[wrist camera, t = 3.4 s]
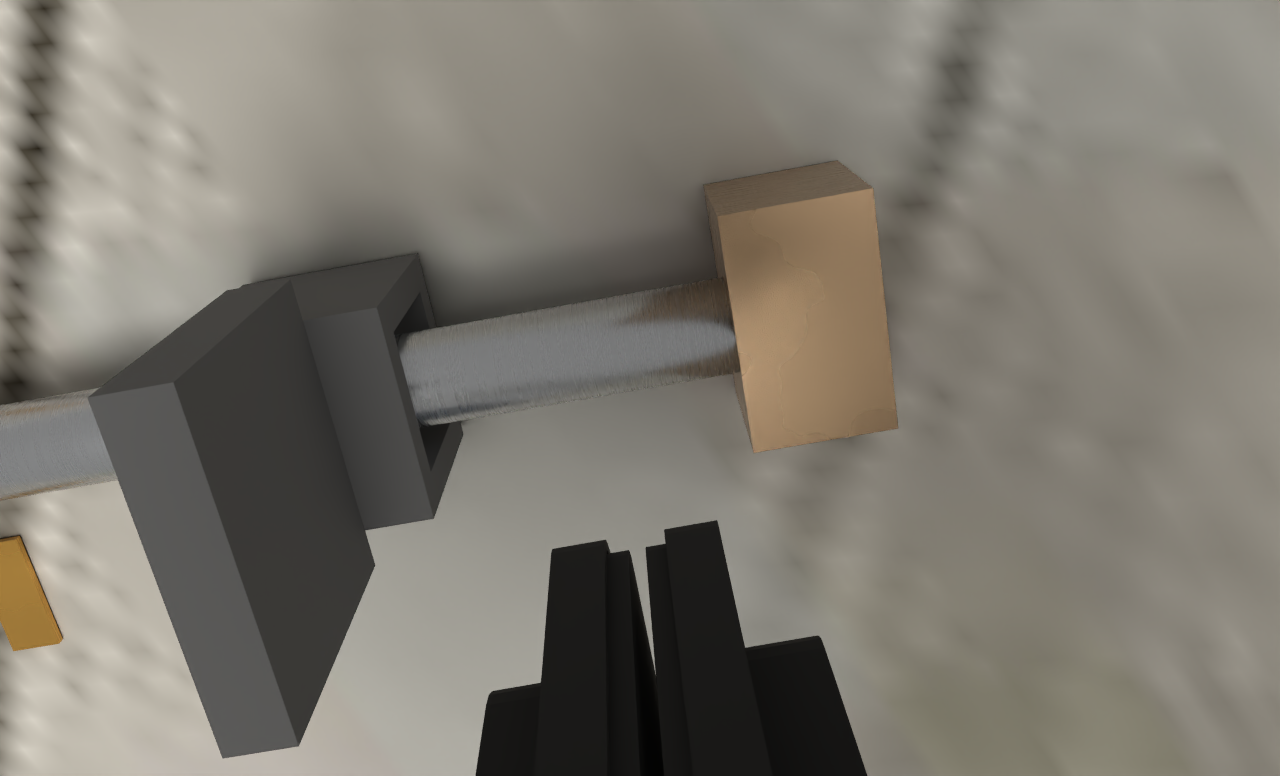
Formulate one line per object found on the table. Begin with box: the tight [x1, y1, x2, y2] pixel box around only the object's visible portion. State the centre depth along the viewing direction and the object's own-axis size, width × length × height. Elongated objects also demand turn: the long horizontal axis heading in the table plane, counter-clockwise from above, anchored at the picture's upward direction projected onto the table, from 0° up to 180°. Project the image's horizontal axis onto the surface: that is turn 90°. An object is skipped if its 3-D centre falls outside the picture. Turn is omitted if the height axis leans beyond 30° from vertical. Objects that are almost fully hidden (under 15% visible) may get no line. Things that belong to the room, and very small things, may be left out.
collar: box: [87, 254, 463, 758], centre depth 20 cm, size 4×6×10 cm, turn 10°
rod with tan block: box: [0, 161, 898, 651], centre depth 24 cm, size 29×12×4 cm, turn 100°
